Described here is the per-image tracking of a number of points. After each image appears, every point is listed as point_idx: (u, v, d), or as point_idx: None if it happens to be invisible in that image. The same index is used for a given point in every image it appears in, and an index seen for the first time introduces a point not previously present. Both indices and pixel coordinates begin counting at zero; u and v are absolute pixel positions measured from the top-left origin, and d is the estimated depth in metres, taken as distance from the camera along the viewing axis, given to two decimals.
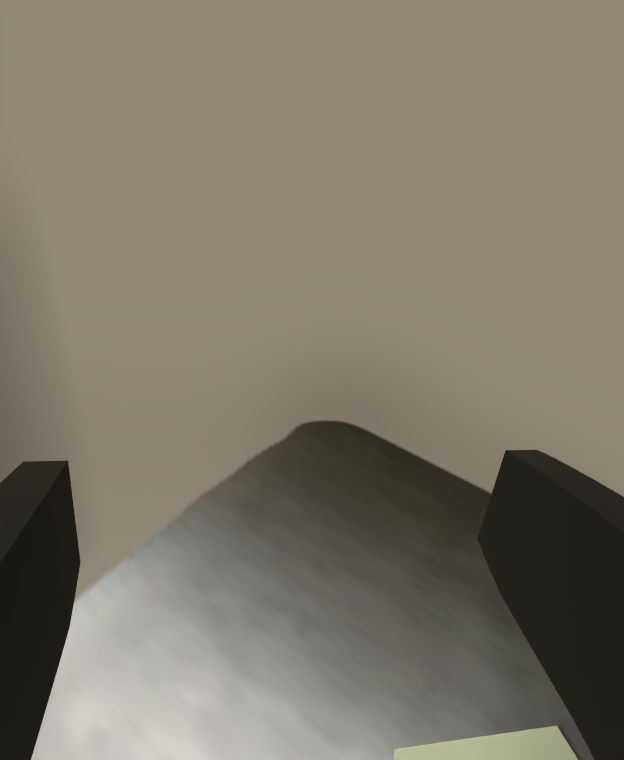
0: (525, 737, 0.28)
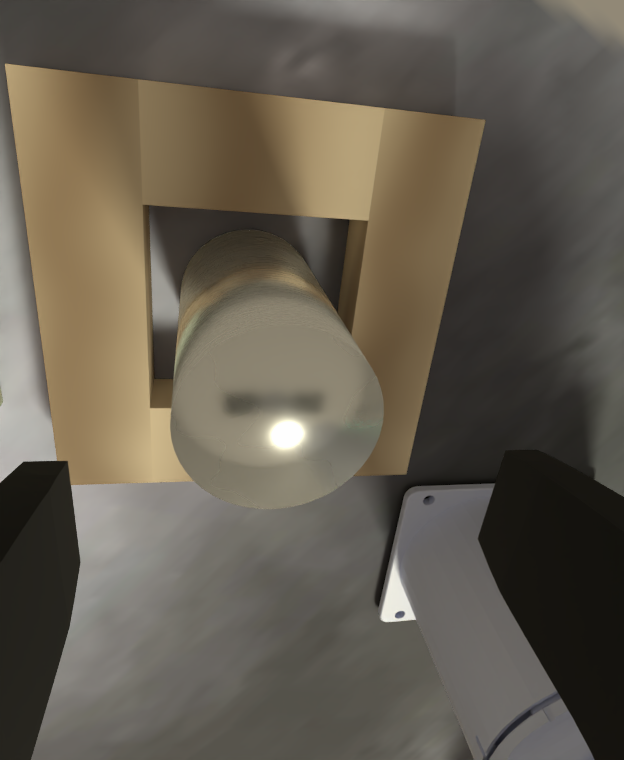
0: None
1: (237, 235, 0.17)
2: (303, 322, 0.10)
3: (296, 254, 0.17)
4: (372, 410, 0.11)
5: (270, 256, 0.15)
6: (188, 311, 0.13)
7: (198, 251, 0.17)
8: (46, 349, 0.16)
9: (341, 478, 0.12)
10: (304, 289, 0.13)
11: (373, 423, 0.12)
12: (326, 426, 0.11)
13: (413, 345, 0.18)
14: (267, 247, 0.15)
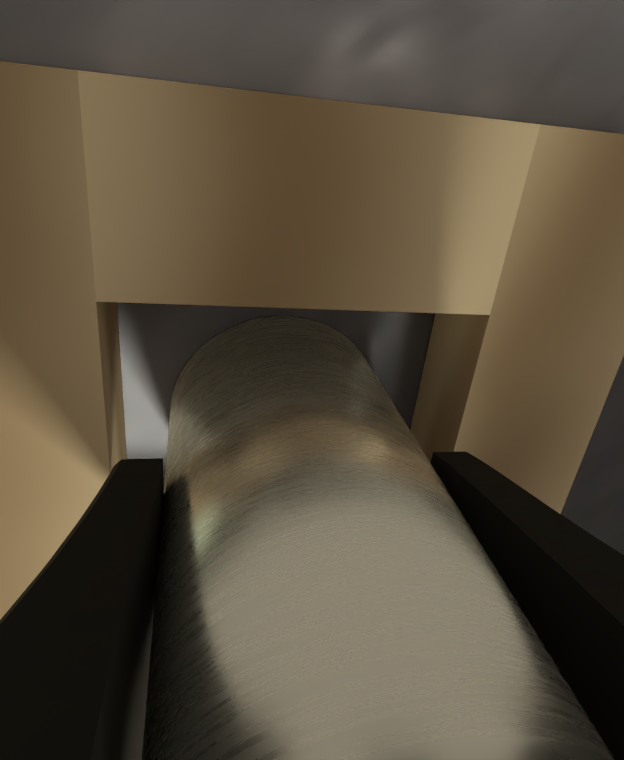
0: None
1: (262, 331, 0.10)
2: (474, 708, 0.04)
3: (360, 362, 0.10)
4: None
5: (329, 393, 0.08)
6: (179, 525, 0.07)
7: (198, 352, 0.10)
8: None
9: None
10: (416, 500, 0.06)
11: None
12: None
13: (537, 493, 0.11)
14: (318, 364, 0.09)
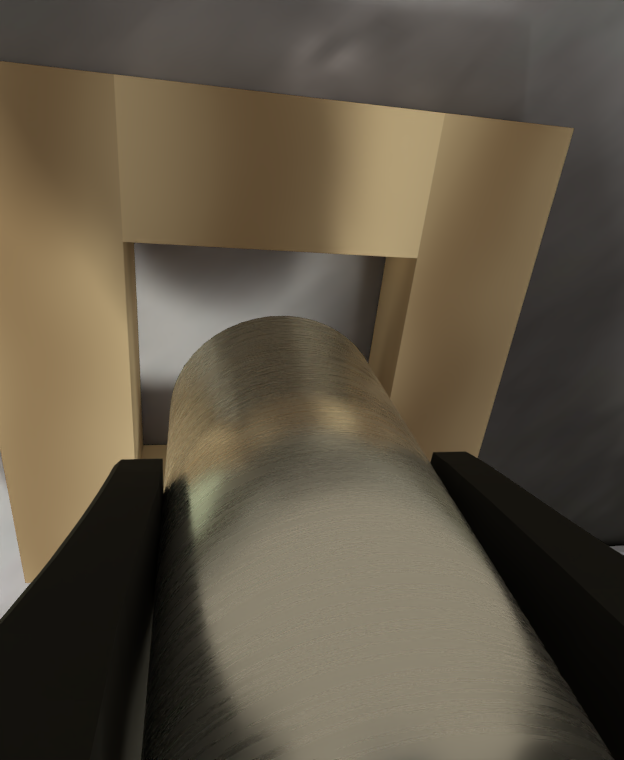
0: None
1: (262, 331, 0.10)
2: (474, 708, 0.04)
3: (360, 362, 0.10)
4: None
5: (328, 392, 0.08)
6: (178, 524, 0.07)
7: (198, 352, 0.10)
8: (0, 425, 0.12)
9: None
10: (415, 500, 0.06)
11: None
12: None
13: (465, 408, 0.14)
14: (317, 363, 0.09)
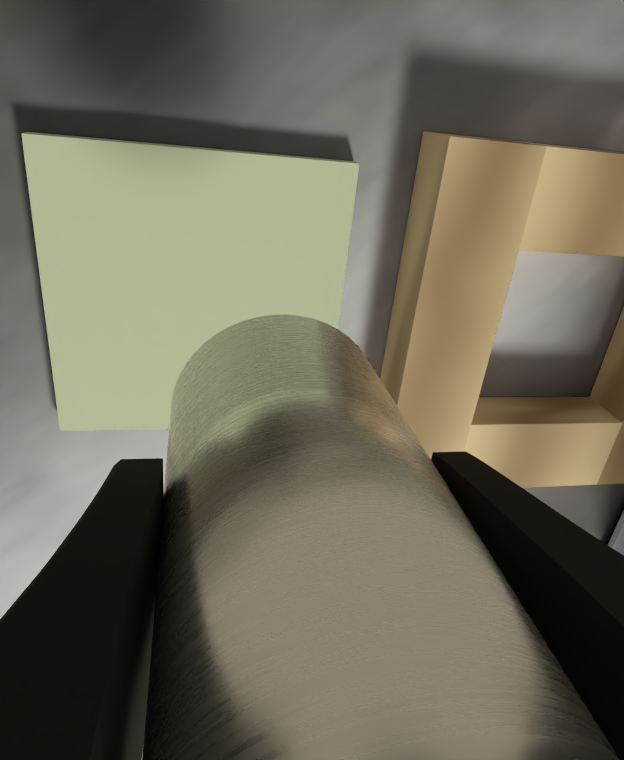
0: (46, 216, 0.15)
1: (263, 329, 0.10)
2: (480, 709, 0.04)
3: (361, 361, 0.10)
4: None
5: (330, 391, 0.08)
6: (180, 523, 0.07)
7: (199, 351, 0.10)
8: (406, 374, 0.18)
9: None
10: (418, 499, 0.06)
11: None
12: None
13: None
14: (319, 362, 0.09)
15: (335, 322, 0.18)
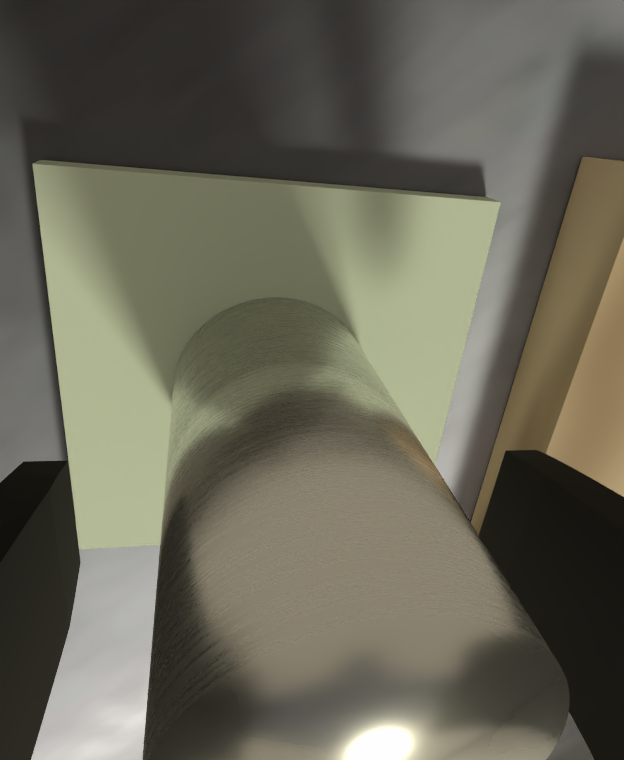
0: (66, 279, 0.10)
1: (259, 310, 0.11)
2: (428, 597, 0.05)
3: (349, 339, 0.11)
4: (545, 724, 0.06)
5: (318, 362, 0.09)
6: (182, 474, 0.08)
7: (199, 331, 0.11)
8: None
9: None
10: (391, 449, 0.07)
11: (542, 741, 0.06)
12: (455, 757, 0.06)
13: None
14: (309, 338, 0.10)
15: (445, 406, 0.14)
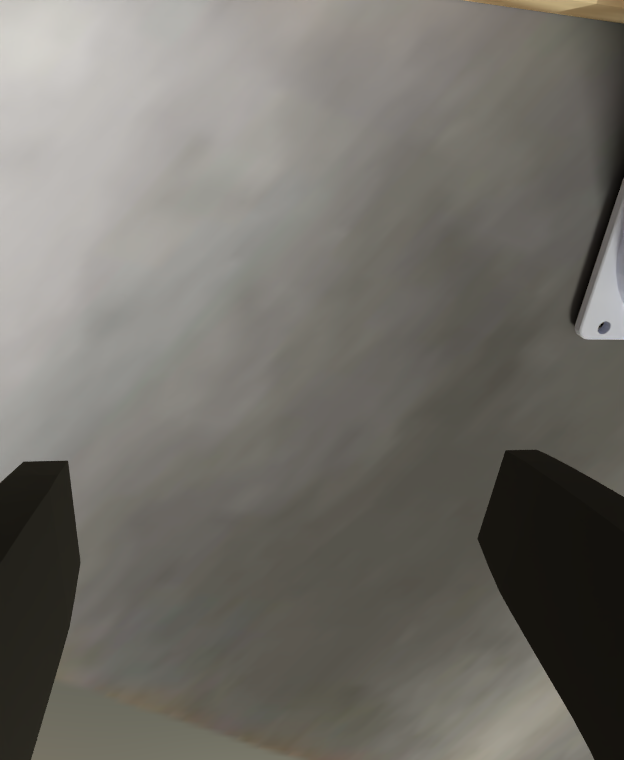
0: None
1: None
2: None
3: None
4: None
5: None
6: None
7: None
8: None
9: None
10: None
11: None
12: None
13: None
14: None
15: None
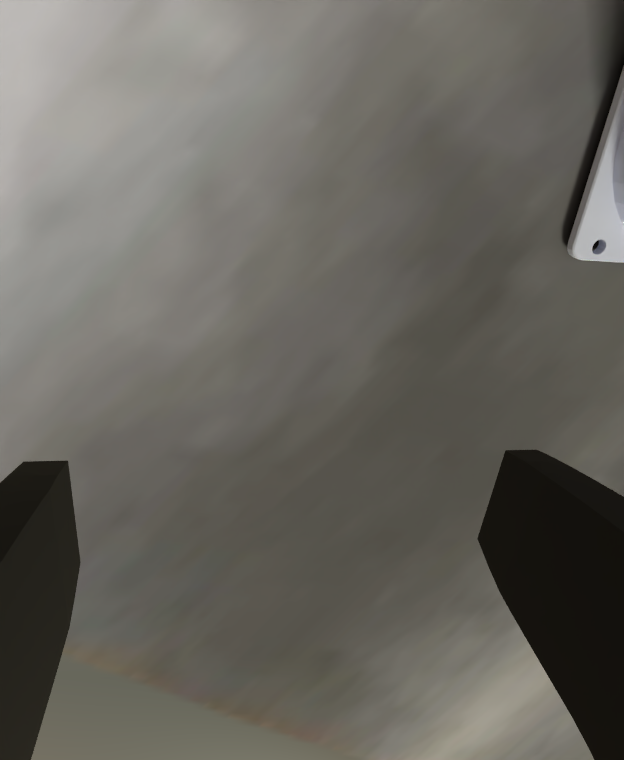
0: None
1: None
2: None
3: None
4: None
5: None
6: None
7: None
8: None
9: None
10: None
11: None
12: None
13: None
14: None
15: None
